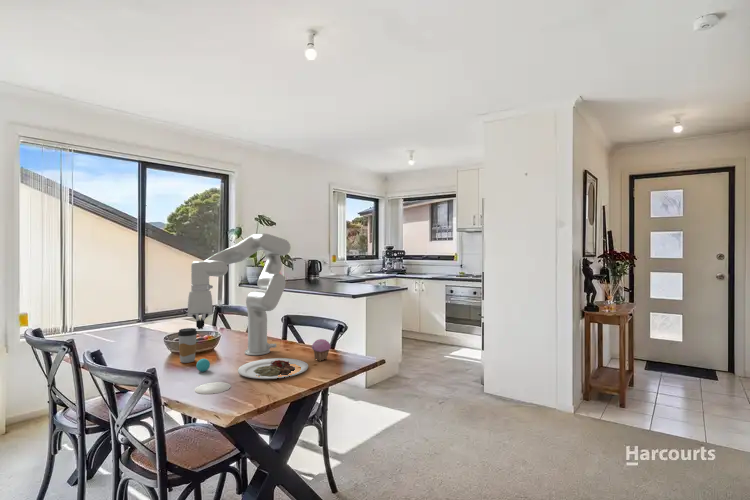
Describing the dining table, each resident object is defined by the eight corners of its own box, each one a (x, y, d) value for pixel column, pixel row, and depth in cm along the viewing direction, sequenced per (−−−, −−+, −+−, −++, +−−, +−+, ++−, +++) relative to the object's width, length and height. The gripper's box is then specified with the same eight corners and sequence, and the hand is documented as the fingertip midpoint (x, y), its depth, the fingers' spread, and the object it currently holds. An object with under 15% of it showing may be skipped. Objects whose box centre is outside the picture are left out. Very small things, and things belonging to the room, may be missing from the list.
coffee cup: (200, 359, 203) (200, 328, 203) (191, 363, 194) (191, 331, 194) (184, 358, 204) (184, 327, 203) (174, 363, 195) (174, 331, 195)
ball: (208, 368, 187) (208, 356, 187) (210, 372, 182) (210, 359, 182) (195, 370, 184) (195, 358, 184) (197, 374, 179) (197, 361, 179)
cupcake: (322, 356, 208) (323, 336, 208) (334, 360, 202) (334, 339, 202) (308, 360, 202) (308, 339, 202) (319, 363, 196) (319, 342, 196)
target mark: (227, 380, 170) (227, 380, 170) (234, 390, 159) (234, 389, 159) (192, 386, 164) (192, 385, 164) (197, 396, 152) (197, 395, 152)
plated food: (236, 385, 166) (236, 376, 166) (239, 364, 195) (239, 357, 195) (312, 379, 174) (312, 371, 174) (304, 360, 203) (304, 353, 203)
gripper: (216, 287, 197) (216, 326, 198) (181, 288, 190) (181, 329, 190) (219, 288, 191) (219, 328, 191) (183, 289, 183) (183, 331, 183)
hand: (200, 328), depth 190 cm, fingers closed
